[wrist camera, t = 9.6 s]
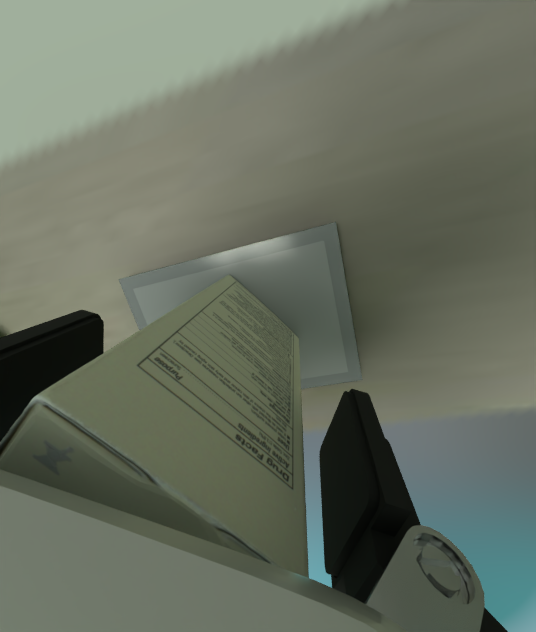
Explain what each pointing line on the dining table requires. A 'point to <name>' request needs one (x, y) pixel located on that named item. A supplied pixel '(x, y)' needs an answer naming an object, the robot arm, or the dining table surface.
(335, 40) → the dining table surface
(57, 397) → the skincare box
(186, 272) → the metal tray
